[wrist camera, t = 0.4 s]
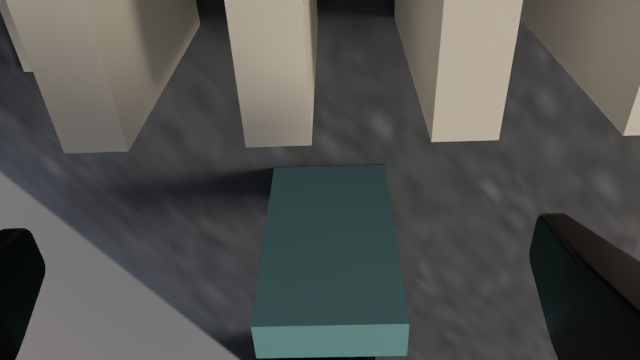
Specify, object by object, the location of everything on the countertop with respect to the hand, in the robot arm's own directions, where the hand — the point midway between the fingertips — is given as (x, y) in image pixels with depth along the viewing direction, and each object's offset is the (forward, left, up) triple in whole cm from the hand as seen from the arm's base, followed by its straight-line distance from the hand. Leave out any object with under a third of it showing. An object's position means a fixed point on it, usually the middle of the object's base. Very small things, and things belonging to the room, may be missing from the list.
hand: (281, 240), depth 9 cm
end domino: (-8, -1, -13) cm, 15 cm away
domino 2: (+2, 0, -13) cm, 13 cm away
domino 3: (+2, -4, -13) cm, 14 cm away
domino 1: (+2, +5, -13) cm, 14 cm away
